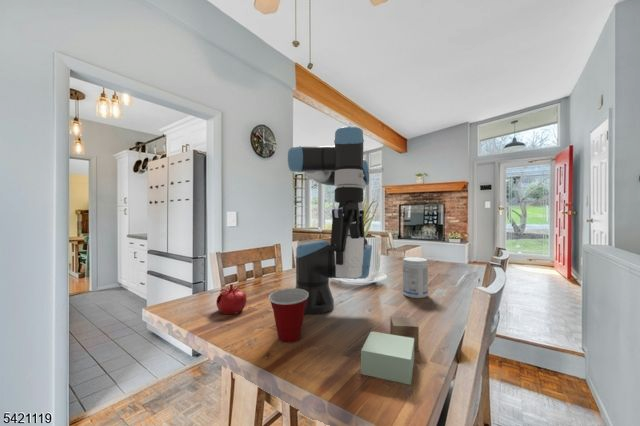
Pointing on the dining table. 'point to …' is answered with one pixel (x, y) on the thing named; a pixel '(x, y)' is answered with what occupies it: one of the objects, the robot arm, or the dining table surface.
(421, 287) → the supplement tub
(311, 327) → the dining table surface
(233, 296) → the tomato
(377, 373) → the base block
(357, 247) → the white cup
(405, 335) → the walnut cube
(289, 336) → the plastic cup
